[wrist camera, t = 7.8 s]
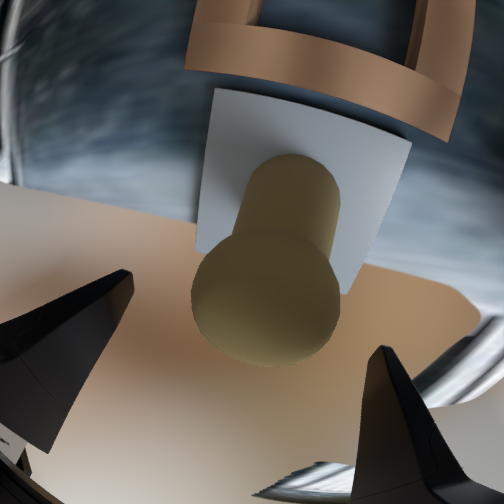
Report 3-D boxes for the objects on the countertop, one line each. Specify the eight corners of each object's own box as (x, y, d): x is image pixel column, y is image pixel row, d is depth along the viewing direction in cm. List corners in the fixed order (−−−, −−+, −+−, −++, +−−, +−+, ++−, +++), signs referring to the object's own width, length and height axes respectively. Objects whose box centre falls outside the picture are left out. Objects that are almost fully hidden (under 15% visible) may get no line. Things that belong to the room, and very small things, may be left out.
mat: (407, 139, 14) (412, 142, 13) (346, 286, 21) (346, 295, 20) (220, 87, 15) (215, 88, 14) (199, 244, 22) (194, 251, 21)
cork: (227, 188, 18) (132, 303, 9) (304, 134, 15) (277, 212, 6) (281, 256, 20) (243, 397, 11) (358, 215, 17) (383, 363, 8)
